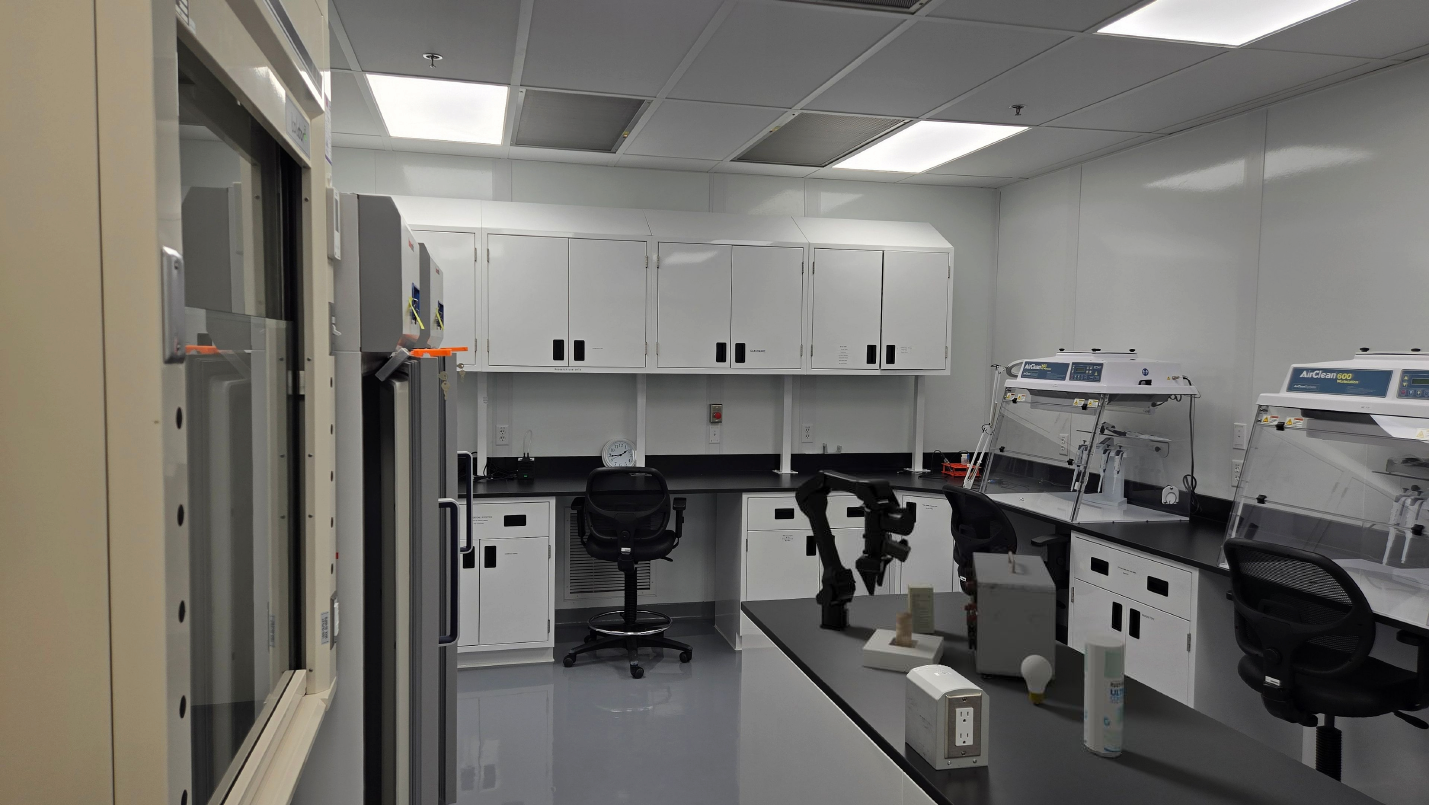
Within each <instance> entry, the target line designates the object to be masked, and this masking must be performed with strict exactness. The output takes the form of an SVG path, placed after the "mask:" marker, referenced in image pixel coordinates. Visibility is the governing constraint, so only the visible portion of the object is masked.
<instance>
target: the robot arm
mask: <svg viewBox="0 0 1429 805" xmlns="http://www.w3.org/2000/svg"><path fill="white" fill-rule="evenodd" d="M833 489H835V490H838V491H841V492H846V493H850V494H853V495H854V496H855V497H856V498H857V499H858V500H859V501H861V502H862V503H861V504H860V505H859V506H858V508H857V509H858V511H859V510H860V511H863V512H864V532H863V533H862V539H863V540H864V549H863V550H862V555H860V556H859V557H858V558H857V559H856V560H855V562H854V563H855V565H854V566H855V570H856V571H857V572H858V573H859V576H860V578H861V580H862V582H863V584H864V586H865V588H866V590H867V593H868V595H869V596H871V597H872V596H875V591H876V586H877V587H883V584H884V580H885V576H886V573H887V572H886V571H887V567H888V566H889V564H890V563H891V562H892V561H894V559H896V560H898V562H901V563H905V562H906V561H907V560H908V558H909V555H910V554H911V552H912V547H911V546H910V544H909V540H908V539H906V538H903V537H908V536H910V535H911V534H912V532H913V531H914V529H915V523H916V522H915V520H914V519H915V518H914V517H913V515H912V513H910V511H909V507H906V506H905V507H901V504H900V501H899V499H898V497H897V496H896V494H895V492H894V490H893V488H892V485H891V483H890V481H889V480H887V479H885V478H881V479H880V478H870V479H868V478H866V479H865V478H860V477H856V476H852V475H849V474H846V473H845V474H844V473H841V472H837V471H836V470H835V471H834V470H833V469H829V470H827V469H826V470H819V471H818V472H816V474H815V475H814V476H813V477H811V478H809V479H808V480H806V481H804V483H802V484H801V485H799V486H798V487H797V489H796V491H795V493H794V498H795V502H796V504H797V506H798V508H799V511H801V513H803V515H804V516H806V518H807V519H808V521H809V524H810V528H811V532H812V535H813V539H814V542H815V544H816V548H817V552H818V555H819V558H820V562H821V564H822V567H823V572H822V575H821V585H822V588H821V589H820V590H819V591H818V593H817V594H816V595H815V601H816V604H818V605H819V606H821V623H820V624H819V628H820V629H821V628H823V629H829V630H830V629H831V630H838V631H844V629H846V627H847V626H848V625H849V624H850V609H849V608H848V604H849V603H850V604H851V603H852V602H853V598H854V595H855V593H856V590H857V587H856V584H857V581H856V580H855V578H854V573H853V571H852V569H851V568H849V567H848V568H846V567H845V566H844V565H843V564H842V561H841V557H840V555H839V551H838V549H837V545H836V542H835V538H834V535H833V532H832V530H831V526H830V522H829V520H828V517H827V510H828V505H829V500H828V496H829V495H830V494H831V493H832V492H833ZM891 534H893V535H898V536H902V538H901V539H900V540H899V541H898V540H897V539H896V540H894V539H892V538H891Z"/></svg>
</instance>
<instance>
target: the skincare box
mask: <svg viewBox="0 0 1429 805" xmlns="http://www.w3.org/2000/svg"><path fill="white" fill-rule="evenodd" d="M934 605H935V604H934V586H933V585H932V583H907V607H908V608H907V610H908V611H907V612H908V613H911V614H912V633H916V634H935V620H934V619H935V611H934V610H935V609H934Z"/></svg>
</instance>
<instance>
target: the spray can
mask: <svg viewBox="0 0 1429 805" xmlns="http://www.w3.org/2000/svg"><path fill="white" fill-rule="evenodd" d="M1125 647H1126V646H1125V642H1124V641H1123V640H1121V639H1119V638H1117V637H1112V636H1109V635H1099V634H1098V635H1097V634H1094V635H1088V636H1085V638H1084V684H1083V685H1084V688H1083V689H1084V690H1083V692H1084V693H1083V695H1084V700H1083V701H1084V704H1083V710H1084V711H1083V712H1084V713H1083V714H1084V715H1083V717H1084V718H1083V726H1084V727H1083V745H1084V744H1085V745H1086V746H1087V747H1089V748H1090V749H1092V750H1094V751H1099V752H1101V753H1119V752H1120V751H1122V752H1123V736H1124V735H1123V733H1124V732H1123V730H1124V729H1123V728H1124V726H1123V725H1124V690H1125V689H1124V688H1125V687H1124V686H1125V685H1124V684H1125V655H1126V654H1125V649H1126V648H1125Z"/></svg>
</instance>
